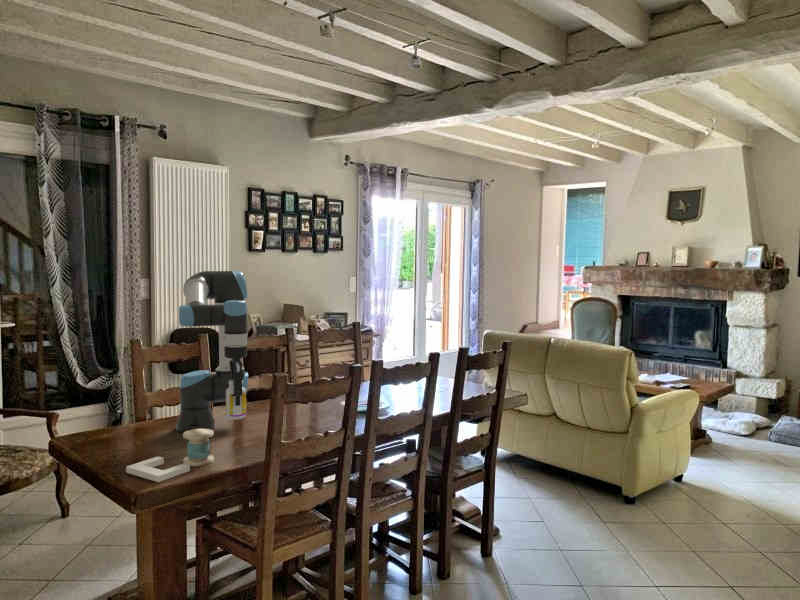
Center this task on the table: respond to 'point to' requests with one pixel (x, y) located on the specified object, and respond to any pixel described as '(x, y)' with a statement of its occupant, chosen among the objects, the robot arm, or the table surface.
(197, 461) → the bobbin
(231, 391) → the supplement bottle
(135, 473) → the notched board
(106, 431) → the table surface
